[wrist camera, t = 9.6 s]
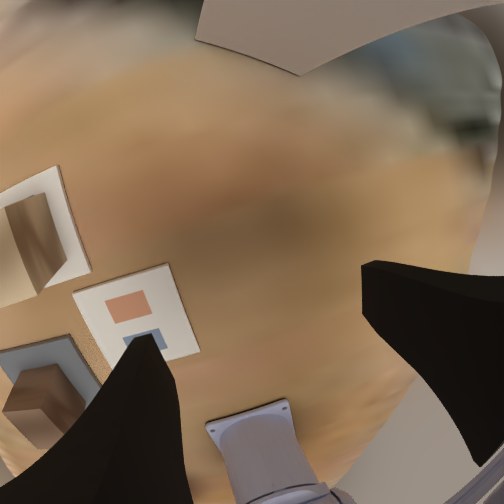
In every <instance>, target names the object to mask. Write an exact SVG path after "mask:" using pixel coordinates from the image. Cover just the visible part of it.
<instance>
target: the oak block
mask: <svg viewBox="0 0 504 504" xmlns="http://www.w3.org/2000/svg"><path fill="white" fill-rule="evenodd" d="M66 261H67V258H66V255H65V252H64V250H63V247H62V244H61V242H60V239H59V236H58V233H57V230H56V227H55V224H54V221H53V218H52V215H51V212H50V208H49V205H48V202H47V198H46V195H45V192H44V193H41V194H38V195H35V196H32V197H29V198H26V199H24V200H21V201H18V202H16V203H13V204H10V205H8V206H5V207H3V208H1V209H0V308H2V307H5V306H8V305H11V304H14V303H16V302H19V301H22V300H25V299H28V298H31V297H34V296H37V295H38V294H39V293H40V292H41V290H42V289H43V288H44V287H45V286H46V284H47V283H48V282H49V281H50V280H51V278H52V277H53V276H54V275H55V274H56V273H57V271H58V270H59V269H60V268H61V267H62V266H63V265H64V263H65V262H66Z"/></svg>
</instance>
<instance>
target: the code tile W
mask: <svg viewBox="0 0 504 504" xmlns="http://www.w3.org/2000/svg"><path fill="white" fill-rule="evenodd" d="M72 296H73V298H74V300H75V302H76V304H77V306H78V308H79V310H80V312H81V314H82V316H83V318H84V320H85V322H86V324H87V326H88V328H89V330H90V332H91V334H92V335H93V337H94V339H95V341H96V343H97V344H98V346H99V348H100V350H101V351H102V353H103V355H104V357H105V358H106V360H107V362H108V363H109V365H110V366H111V368H112V370H113V369H114V367H115V366H116V364H117V362H118V361H119V359H120V358H121V356H122V355H123V353H124V351H125V350H126V348H127V347H128V345H129V344H130V342H131V341H132V340H133V338H134V337H138V336H142V335H146V334H149V333H152V335H153V337H154V339H155V341H156V343H157V346H158V348H159V350H160V352H161V354H162V356H163V358H164V360H165V361H169V360H173V359H176V358H180V357H184V356H187V355H191V354H195V353H198V352H201V351H200V347H199V345H198V342H197V340H196V337H195V335H194V332H193V330H192V327H191V325H190V322H189V320H188V317H187V314H186V312H185V309H184V306H183V304H182V301H181V298H180V295H179V293H178V290H177V287H176V284H175V281H174V278H173V275H172V273H171V270H170V267H169V264H168V263H166V264H163V265H159V266H156V267H153V268H149V269H146V270H143V271H139V272H136V273H133V274H129V275H126V276H123V277H119V278H116V279H113V280H110V281H106V282H103V283H100V284H97V285H93V286H90V287H87V288H84V289H80V290H77V291H74V292H73V293H72Z"/></svg>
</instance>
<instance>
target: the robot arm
mask: <svg viewBox="0 0 504 504" xmlns="http://www.w3.org/2000/svg"><path fill="white" fill-rule="evenodd" d="M361 275H362V314H363V315H364V317H365V318H366V319H367V321H368V322H369V324H370V325H371V326H372V327H373V329H374V330H375V331H376V332H377V334H378V335H379V336H380V337H381V338H382V339H384V340H385V341H386V342H387V343H388V344H389V345H390V346H391V347H392V348H393V349H394V350H395V351H396V352H397V353H398V354H399V355H400V356H401V357H402V358H403V359H404V360H405V361H406V362H407V363H408V364H410V365H411V366H412V367H413V368H414V369H415V370H416V371H417V372H418V373H419V375H420V376H421V377H422V378H423V379H424V380H425V382H426V383H427V384H428V385H429V387H430V388H431V389H432V390H433V392H434V393H435V394H436V395H437V397H438V398H439V400H440V401H441V403H442V404H443V406H444V407H445V409H446V410H447V411H448V413H449V415H450V416H451V418H452V419H453V421H454V423H455V425H456V426H457V428H458V429H459V431H460V433H461V435H462V437H463V439H464V441H465V443H466V445H467V447H468V449H469V451H470V453H471V456H472V458H473V461H474V462H475V463H476V464H477V465H478V466H479V467H481V466H482V465H483V464H484V463H486V462H487V461H488V459H490V457H491V456H492V455H493V454H494V453H495V452H496V451H497V450H498V449H499V448H500V447H501V446H502V445H503V443H504V276H478V275H466V274H458V273H451V272H444V271H438V270H432V269H427V268H422V267H416V266H411V265H406V264H401V263H395V262H388V261H379V260H374V261H372V262H369V263H366V264H364V265H361ZM205 427H206V430H207V432H208V433H209V435H210V436H211V438H212V440H213V441H214V443H215V444H216V446H217V447H218V449H219V450H220V452H221V453H222V455H223V458H224V462H225V466H226V469H227V473H228V476H229V480H230V484H231V487H232V490H233V494H234V497H235V501H236V504H356V502H355V501H354V499H353V498H352V497H351V496H350V495H349V494H348V493H347V492H345V491H343V490H340V489H338V488H332V489H330V490H329V488H328V486H327V484H326V483H325V482H322V483H319V481H318V479H317V478H316V476H315V474H314V472H313V470H312V468H311V466H310V464H309V462H308V460H307V458H306V456H305V454H304V452H303V450H302V448H301V446H300V444H299V442H298V440H297V438H296V434H295V430H294V425H293V420H292V415H291V411H290V406H289V402H288V401H287V400H286V399H283V400H280V401H277V402H274V403H272V404H269V405H266V406H263V407H260V408H257V409H254V410H251V411H247V412H244V413H241V414H238V415H234V416H231V417H227V418H224V419H220V420H216V421H213V422H209V423H207V424H206V425H205ZM503 476H504V448H503V449H502V451H501V452H500V453H499V454H498V455H497V456H496V457H495V458H494V459H493V460H492V461H491V462H490V463H489V464H488V465H487V466H486V467H485V468H484V469H483V470H482V471H481V472H480V473H479V474H478V475H477V476H476V477H475V478H474V479H472V480H471V481H470V482H469V483H468V484H467V485H466V486H465V487H463V488H462V489H461V490H460V491H459V492H457V493H456V494H455V495H454V496H453V497H451V498H450V499H449V500H448V501H446V502H445V503H444V504H476V503H477V502H478V501H479V500H480V499H481V498H482V497H483V496H484V495H485V494H486V493H487V492H488V491H489V490H490V489H491V488H492V487H493V486H494V485H495V484H496V483H497V482H498V481H499V480H500V479H501V478H502V477H503ZM0 504H194V503H193V500H192V496H191V492H190V488H189V484H188V480H187V476H186V471H185V465H184V456H183V445H182V433H181V420H180V406H179V400H178V394H177V389H176V384H175V379H174V377H173V375H172V373H171V371H170V369H169V367H168V366H167V364H166V362H165V360H164V358H163V356H162V354H161V352H160V350H159V348H158V346H157V343H156V341H155V339H154V337H153V335H152V333H149V334H146V335H142V336H138V337H134V338H133V340H132V341H131V342H130V344H129V345H128V347H127V348H126V350H125V351H124V353H123V355H122V356H121V358H120V359H119V361H118V362H117V364H116V366H115V367H114V369H113V370H112V372H111V373H110V375H109V377H108V378H107V380H106V381H105V383H104V384H103V385H102V387H101V388H100V390H99V391H98V393H97V394H96V395H95V397H94V398H93V400H92V401H91V403H90V404H89V405H88V407H87V408H86V409H85V411H84V412H83V413H82V415H81V416H80V417H79V418H78V419H77V421H76V422H75V423H74V424H73V425H72V427H71V428H70V429H69V430H68V431H67V432H66V433H65V434H64V435H63V436H62V437H61V438H60V439H59V440H58V441H57V442H56V443H55V444H54V445H53V446H52V447H51V448H50V449H49V450H48V451H47V452H46V453H45V454H44V455H43V456H42V457H41V458H40V459H39V460H37V461H36V462H35V463H34V464H33V465H31V466H30V467H29V468H28V469H26V470H25V471H24V472H23V473H21V474H20V475H18V476H17V477H16V478H14V479H13V480H11V481H10V482H8V483H6V484H5V485H3V486H2V487H0ZM483 504H504V481H503V482H502V483H501V484H500V485H499V486H498V487H497V488H496V489H495V490H494V491H493V492H492V493H491V494H490V495H489V496H488V498H487V499H486V500H485V501H484V502H483Z"/></svg>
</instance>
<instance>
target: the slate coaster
mask: <svg viewBox="0 0 504 504" xmlns="http://www.w3.org/2000/svg"><path fill="white" fill-rule="evenodd" d="M55 363H58V365H59V366H60V368H61V369H62V371H63V372H64V374H65V375H66V376H67V378H68V379H69V380H70V382H71V383H72V384H73V386H74V387H75V388H76V390H77V391H78V392H79V394H80V395H81V396H82V397H83V399H84V400H85V401H86V406H85V409H86V408H87V407H88V405H89V404H90V403H91V401H92V400H93V398H94V397H95V395H96V394H97V393H98V391H99V390H100V388H101V387H102V385H101V384H100V382H99V381H98V379H97V378H96V376H95V375H94V373H93V372H92V370H91V369H90V367H89V365H88V364H87V362H86V361H85V359H84V358H83V356H82V354H81V353H80V351H79V349H78V348H77V346H76V344H75V342H74V341H73V339H72V337H71V335H70V334H69V335H65V336H61V337H57V338H53V339H49V340H44V341H40V342H36V343H32V344H28V345H24V346H19V347H15V348H11V349H6V350H2V351H0V366H1V367H2V369H3V370H4V372H5V373H6V375H7V376H8V377H9V379H10V380H11V382H12V383H13V384H15V382H16V380H17V378H18V376H19V374H20V372H21V371H24V370H28V369H33V368H38V367H42V366H47V365H51V364H55Z"/></svg>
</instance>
